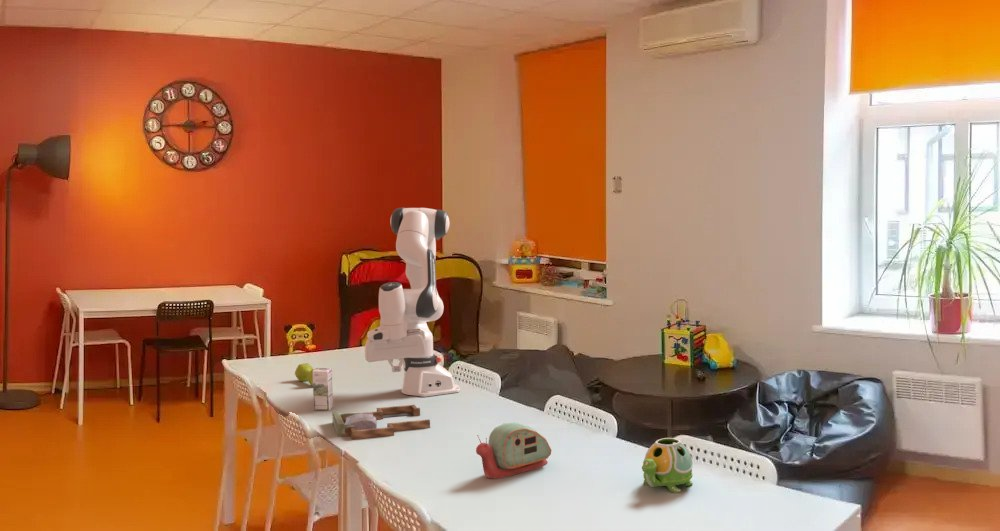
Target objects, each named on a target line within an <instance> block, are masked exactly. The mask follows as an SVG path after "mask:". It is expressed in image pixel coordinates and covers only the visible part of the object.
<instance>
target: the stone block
mask: <svg viewBox="0 0 1000 531" xmlns="http://www.w3.org/2000/svg"><path fill="white" fill-rule="evenodd" d="M377 421H378V419H377V420H376V418H375V417H373V414H372V413H370V414H355V415H352V416H349V417H347V418H346V422H345V423H344V425H345V426H352V425H354V429H355V430H365V429H375V428H378V422H377Z"/></svg>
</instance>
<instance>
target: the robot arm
mask: <svg viewBox="0 0 1000 531" xmlns="http://www.w3.org/2000/svg"><path fill="white" fill-rule="evenodd" d="M389 221H390V227H391V231H392V232H393V233H394V234H395V235H396V241H395V250H396V254H397V255H398V256H399V257H400V259H401V260H404V261H405V276H406V279H407V280H408V282H409V284H410V288H403V285H402V283H401V282H396V281H389V282H387V283H383V284H382V285H380V287H379V290H378V312H379V315H380V321H379V326H378V327H376V328H373V329H371V330H369V331H367V333H366V337H367V339H366V342H365V345H364V358H365V360H366V361H367V362H368V363H374V362H383V361H387V362H388V364H389V366H390V367H391V372H392V373H398V372H402V366H403V370H404V371H403V372H404V373H403V383H402V386H401V387H402V388H401V394H404V395H407V396H408V395H409V396H416V397H417V396H418V397H422V398H423V397H432V396H433V397H434V396H440V395H447V394H456V393H459V392H460V391H461V388H460V386H459V384H456V383H455V381H454V380H455V379H454V378H453V375H452V373H451V372H450V371H448V370H447V369H446V368H445V367H443V366H442V365H440V364H441V362H442V360H443V359H442V357H440V356H437V355H436V354H434V336H433V333H432V331H431V330H430V327H429V326H428V324H427V322H428V323H429V322H434V321H437V320H439V319H440V318H441V317H442V315H443V313H444V310H445V309H444V308H445V307H444V302H443V299H442V298H441V297H440V295H439V292H438V290H437V289H438V288H437V270H436V258H437V257H436V256H437V241H439V240H440V239H442V238H444V237H445V236H446V235H447V233H448V232H449V229H450V221H451V220H450V217H449V214H448V213H447V211H445V210H442V209H434V208H428V207H397V208H395V209H394V210H393V211H392V213H391V216H390V220H389ZM394 360H398V361H399V363H398V365H394V364H393V363H394ZM439 363H440V364H439Z"/></svg>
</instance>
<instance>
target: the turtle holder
mask: <svg viewBox="0 0 1000 531" xmlns="http://www.w3.org/2000/svg"><path fill="white" fill-rule="evenodd" d="M693 466H694V465H693V458H692V455H691V454H690V451H689V450H688V448H687V447H686V445H684V444H683V442H682V441H681V440H680V439H677V438H673V437H664V438H660V439H656V441H655V442H654V443H652V445H651V446H650V447H649V448H648V449H647V451H646V452H645V456H644V460H643V462H642V465H641V470H642V472H643V484H644V485H645V486H650V487H651V488H652V487H653V488H654V487H667V490H669V492H671V493H675V494H677V493H680V492H681V491H682V490H681V488H678V487H677V486H679V485H682V484H684V486H685V487H690V486H693V481H691V479H692V478H693Z"/></svg>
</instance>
